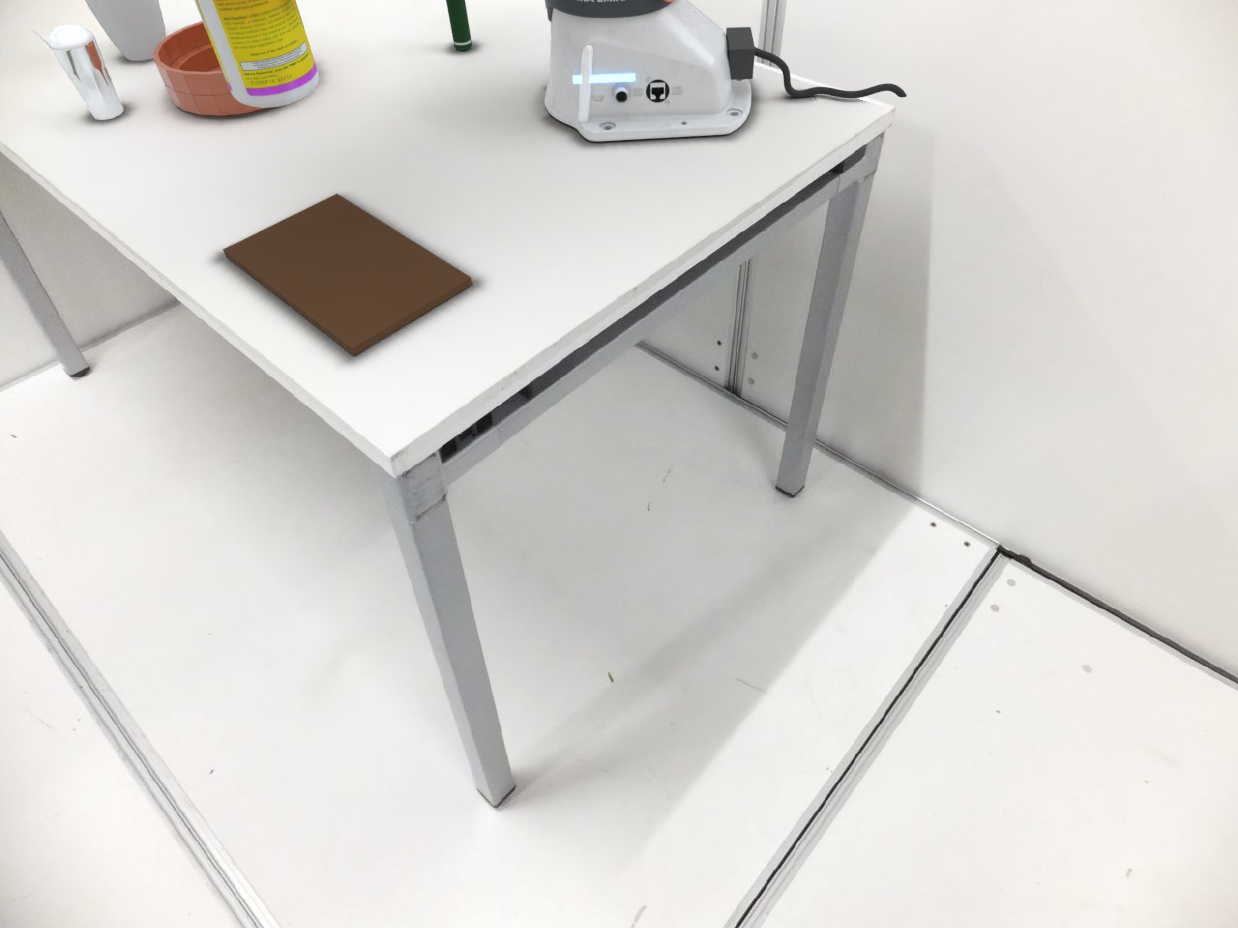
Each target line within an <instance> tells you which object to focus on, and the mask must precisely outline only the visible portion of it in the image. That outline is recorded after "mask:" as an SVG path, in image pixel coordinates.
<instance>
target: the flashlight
mask: <svg viewBox="0 0 1238 928" xmlns="http://www.w3.org/2000/svg"><path fill="white" fill-rule="evenodd" d="M445 3H446V9H447V15H448V18H449V25H450V31H451V37H452V41H453V46H454V49H456V50H457V51H458V52H459V51H460V52H466V51H468V50H471V49H472V46H473V40H472V35H471V34H472V33H471V29H470V23H469V16H468V10H467V4H466V0H445Z"/></svg>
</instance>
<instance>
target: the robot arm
mask: <svg viewBox="0 0 1238 928" xmlns="http://www.w3.org/2000/svg"><path fill="white" fill-rule="evenodd" d="M544 6H545V9H546V13H547V14H546V15H547V20H548V21H549V24H550V43H549V44H550V45H549V50H550V51H549V68H548V75H547V76H548V78H547V85H546V89H545V95H544V99H543V100H544V102H543V103H544V107H545V109H546V111H547V112H548V114H550V115H551V116H552V117H553V118H554V119H556V120H557V121H559V122H561V123H563V124H566V125H568V126H569V127H570V126H571V127H572V128H574V129H576V130H577V131H578V132H579V134H580V135H581V136H582V137H583V138H585V140H588V141H591V142H611V141H612V142H615V141H631V140H649V139H669V138H670V139H671V138H684V137H685V138H687V137H702V136H703V137H704V136H721V135H723V136H724V135H729V134H732V133H733V132H735V131H736V130H738V129H739V128H741V126H742V125H743V124H744V123H745V122H746V120H747V119H748V117H749V114H750V111H751V107H752V86H751V82H750V80H753V78H754V67H755V57H757V58H759V59H763V60H765V61H768V62H770V63H772V64H774V65H775V66H776V67H778V69H780V71H781V73H782V78H783V87H784V90H785V92H786V94H788V95H789V96H791V97H793V98H798V99H799V98H801V99H802V98H806V97H810V96H815V95H824V96H825V95H827V96H832V97H836V98H841V99H861V98H865V97H868V96H871V95H872V96H873V95H875V94H878V93H882V92H891V93H893V94H895V95H896V96H897V97H899V98H906V97H908V94H907V93H906V92H905V91H904V89H903V88H902V87H900V86H899V85H898V84H894V83H880V84H877V85H873V86H870V87H867V88H864V89H860V90H844V89H839V88H833V87H828V86H812V87H809V88H804V89H796V88H794V87H793V85H792V81H791V80H792V79H791V71H790V68H789V66H788V64H787V63H786V62H785V60H783V58H780V57H779V56H778V55H776V54H774V53H771V52H769V51H767V50H764V49H761V48H758V47H756V46H755V41H754V37H753V31H752V27H751V26H740V27H739V26H737V27H735V26H733V27H732V26H731V27H726V29H725V31H724V29H723V28H722V27H721V25H719V23H717V22H716V21H714V20H713V19H712V18H710V17H709V16H708V15H707V14H705V13H704V12H703V11H702V10H700V9H699V8H698V7H697V6H696V5H694V4H693V3H692V2H691V1H690V0H544Z"/></svg>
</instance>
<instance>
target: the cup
mask: <svg viewBox="0 0 1238 928" xmlns="http://www.w3.org/2000/svg"><path fill="white" fill-rule="evenodd" d="M84 1H85V3H86V5H87V7H88V9H89V10H90V12H91V14H92V15H93V16H94V18H95V19H96V21H97V22H98V23H99V25H100V27H101V29H103V31H104V33H105V34H106V35H107V37H108V39H109V40H110V41H111V43H112V44H114V46H115V47H116V49H118V50H119V52H120V53H121V54H122V55H123V56H124V57H125V59H127V60H128V61H132V62H143V61H145V62H146V61H150V60H154V58H153V52H154V50H155V48H156V46H157V44H159V43H160V42H161V41H162V40H163V39H165V38H166V37H167V30H166V25H165V21H164V16H163V12H162V9H161V5H160V1H159V0H84Z"/></svg>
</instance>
